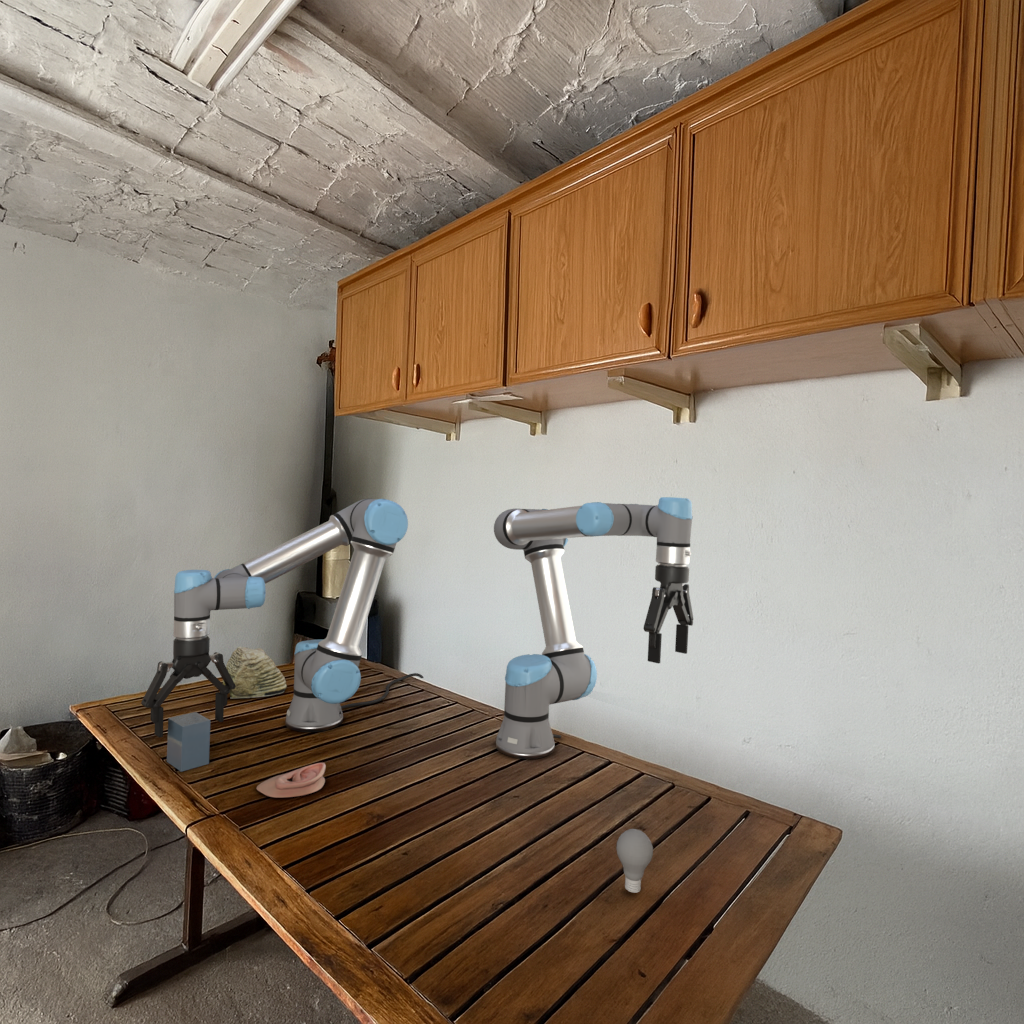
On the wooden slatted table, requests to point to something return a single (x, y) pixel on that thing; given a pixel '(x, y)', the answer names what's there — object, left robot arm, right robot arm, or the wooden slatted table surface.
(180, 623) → the left robot arm
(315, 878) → the wooden slatted table surface
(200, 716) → the brick
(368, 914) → the wooden slatted table surface
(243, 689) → the fossil
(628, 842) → the light bulb
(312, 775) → the anatomical model
